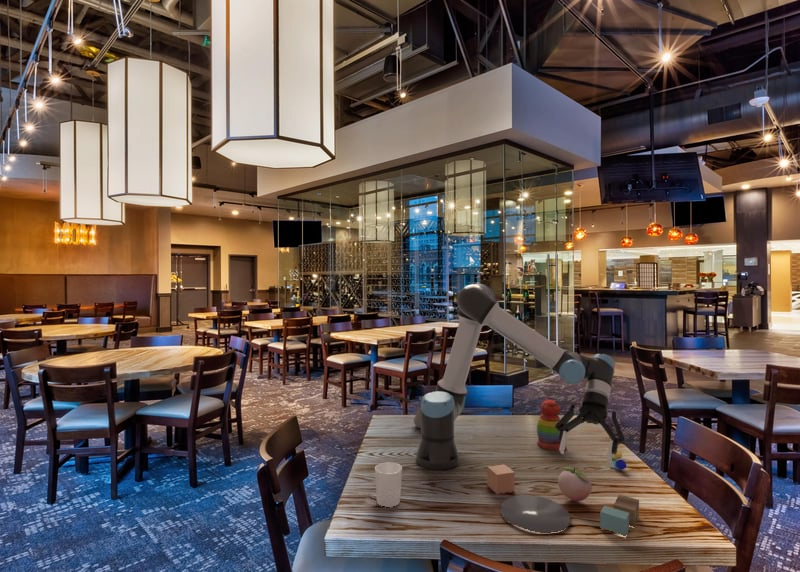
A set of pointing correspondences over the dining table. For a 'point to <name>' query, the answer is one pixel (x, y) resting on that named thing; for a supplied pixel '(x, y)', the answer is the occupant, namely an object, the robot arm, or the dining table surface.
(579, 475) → the decorative fruit
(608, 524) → the teal block
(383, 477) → the white cup
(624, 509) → the walnut block
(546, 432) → the stacking bear
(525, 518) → the slate plate
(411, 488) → the dining table surface
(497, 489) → the terracotta block
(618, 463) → the dice
